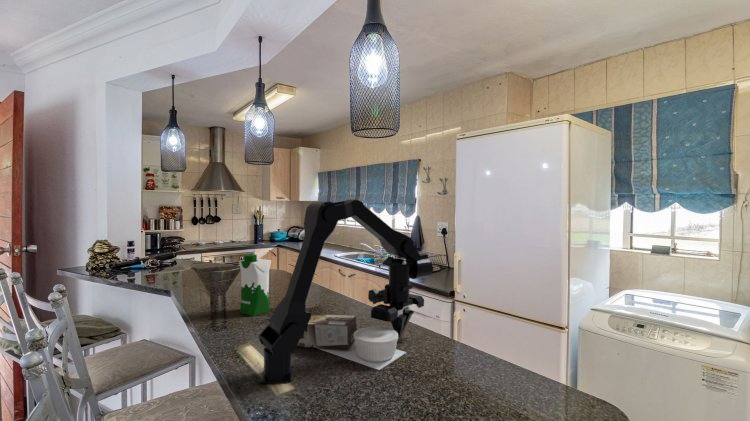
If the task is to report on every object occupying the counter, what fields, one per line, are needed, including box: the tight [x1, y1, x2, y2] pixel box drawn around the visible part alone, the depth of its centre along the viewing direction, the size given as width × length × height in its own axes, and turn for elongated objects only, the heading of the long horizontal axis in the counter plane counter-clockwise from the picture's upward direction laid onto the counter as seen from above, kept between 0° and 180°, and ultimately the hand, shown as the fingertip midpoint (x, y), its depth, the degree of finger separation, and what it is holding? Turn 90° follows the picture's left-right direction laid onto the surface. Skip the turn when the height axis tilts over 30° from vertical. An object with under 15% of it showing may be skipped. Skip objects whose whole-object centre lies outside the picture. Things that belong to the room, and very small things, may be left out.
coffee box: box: [297, 313, 358, 350], centre depth 96 cm, size 9×6×16 cm
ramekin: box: [354, 326, 399, 362], centre depth 89 cm, size 11×11×5 cm
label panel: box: [316, 341, 407, 371], centre depth 92 cm, size 22×12×1 cm, turn 54°
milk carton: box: [238, 253, 272, 317], centre depth 123 cm, size 9×9×20 cm
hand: (398, 337), depth 97 cm, fingers closed
